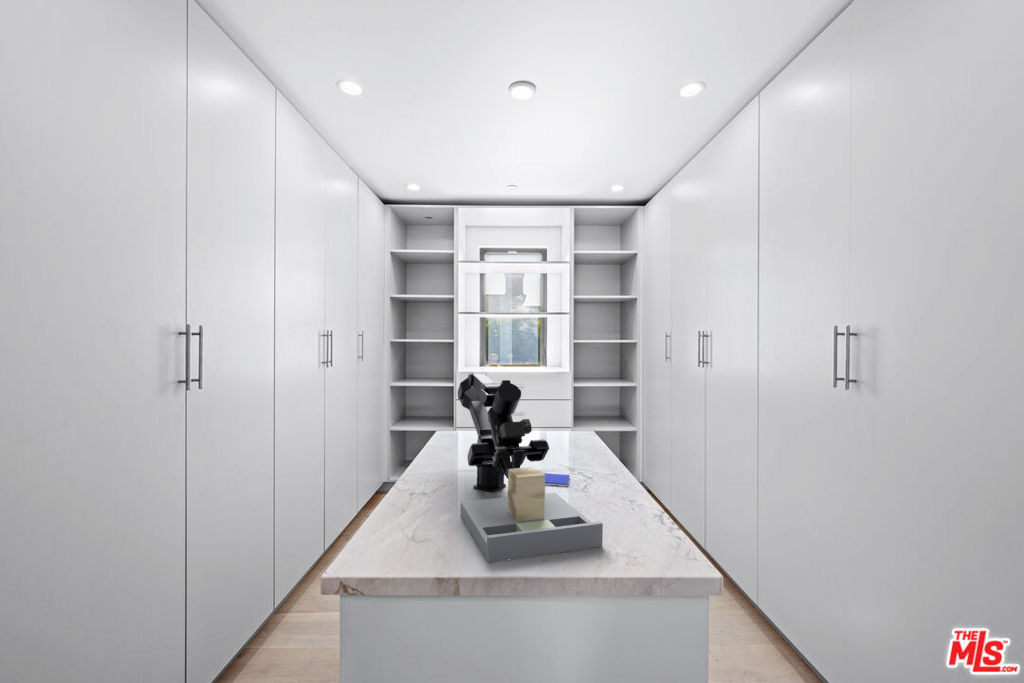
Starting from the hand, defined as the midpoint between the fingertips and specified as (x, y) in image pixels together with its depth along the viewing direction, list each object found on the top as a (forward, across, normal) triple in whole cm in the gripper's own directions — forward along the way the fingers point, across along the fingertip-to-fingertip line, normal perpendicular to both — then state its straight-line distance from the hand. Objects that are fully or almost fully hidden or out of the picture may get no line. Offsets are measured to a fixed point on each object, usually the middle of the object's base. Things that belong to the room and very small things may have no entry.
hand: (516, 485), depth 104 cm
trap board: (+10, 0, 0) cm, 10 cm away
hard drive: (-11, +17, +22) cm, 30 cm away
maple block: (+7, 0, -1) cm, 7 cm away
